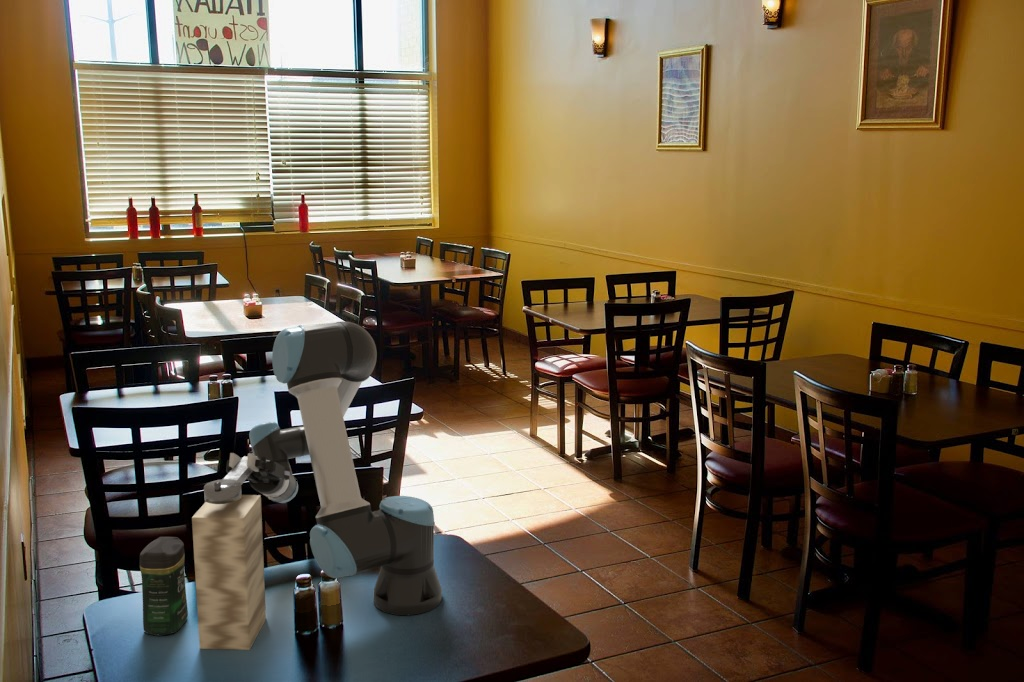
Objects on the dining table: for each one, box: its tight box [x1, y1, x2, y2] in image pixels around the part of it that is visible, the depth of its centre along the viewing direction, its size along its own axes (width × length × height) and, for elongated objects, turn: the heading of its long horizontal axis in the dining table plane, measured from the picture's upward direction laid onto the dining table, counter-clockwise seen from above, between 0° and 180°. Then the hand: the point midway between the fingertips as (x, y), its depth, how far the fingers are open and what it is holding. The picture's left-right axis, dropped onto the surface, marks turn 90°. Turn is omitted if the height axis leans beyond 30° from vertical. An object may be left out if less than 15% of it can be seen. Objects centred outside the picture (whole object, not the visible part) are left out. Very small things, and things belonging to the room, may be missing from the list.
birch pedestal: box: [191, 494, 267, 651], centre depth 184 cm, size 10×12×28 cm
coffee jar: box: [139, 536, 189, 637], centre depth 188 cm, size 10×8×19 cm
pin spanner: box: [203, 455, 258, 504], centre depth 186 cm, size 22×7×4 cm, turn 0°
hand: (240, 459), depth 190 cm, fingers closed on pin spanner, 3 cm apart
